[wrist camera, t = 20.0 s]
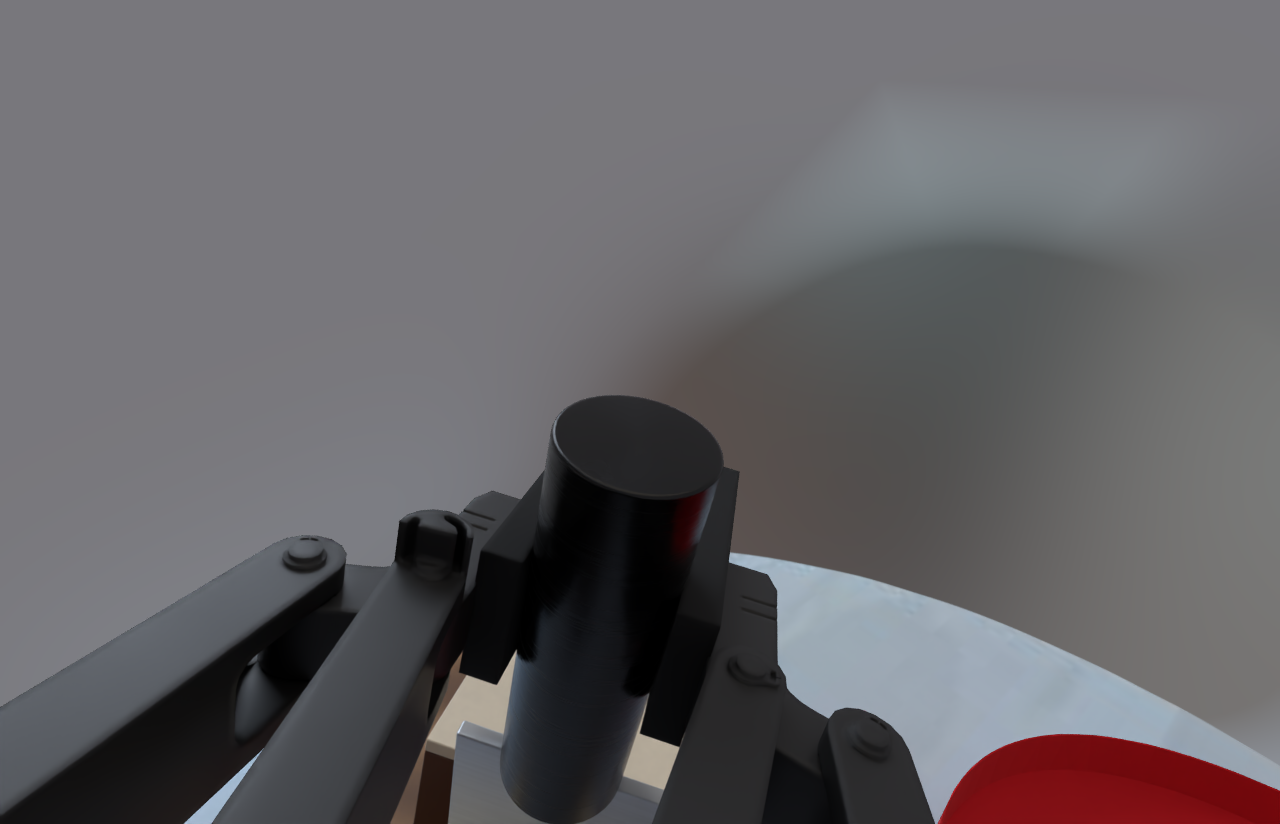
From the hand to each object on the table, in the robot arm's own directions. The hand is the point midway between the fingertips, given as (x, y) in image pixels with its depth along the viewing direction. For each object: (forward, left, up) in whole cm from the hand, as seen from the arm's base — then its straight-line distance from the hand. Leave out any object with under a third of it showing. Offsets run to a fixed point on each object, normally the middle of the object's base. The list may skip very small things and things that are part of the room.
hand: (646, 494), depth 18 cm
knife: (+1, -2, -15) cm, 15 cm away
